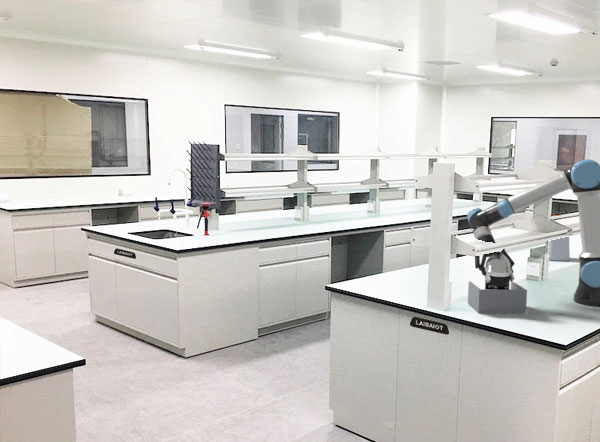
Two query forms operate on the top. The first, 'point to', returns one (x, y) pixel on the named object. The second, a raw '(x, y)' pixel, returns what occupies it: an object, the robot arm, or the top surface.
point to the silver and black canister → (498, 271)
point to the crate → (497, 299)
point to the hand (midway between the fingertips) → (500, 280)
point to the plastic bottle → (559, 249)
